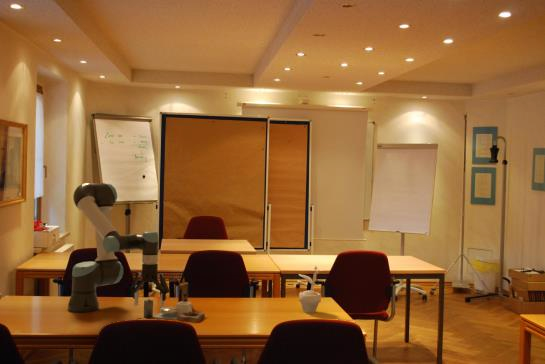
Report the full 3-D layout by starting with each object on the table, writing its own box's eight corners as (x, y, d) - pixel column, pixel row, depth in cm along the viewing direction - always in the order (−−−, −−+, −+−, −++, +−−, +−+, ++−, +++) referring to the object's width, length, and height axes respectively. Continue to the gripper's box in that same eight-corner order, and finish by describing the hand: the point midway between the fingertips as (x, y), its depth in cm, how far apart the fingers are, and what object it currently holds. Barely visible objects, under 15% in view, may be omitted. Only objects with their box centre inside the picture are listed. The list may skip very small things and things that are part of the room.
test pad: (157, 313, 273) (157, 310, 273) (164, 309, 282) (164, 306, 282) (174, 314, 271) (174, 311, 271) (181, 310, 280) (181, 307, 280)
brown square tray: (178, 320, 269) (178, 316, 269) (185, 315, 279) (185, 311, 279) (197, 322, 267) (197, 318, 267) (204, 317, 277) (204, 313, 277)
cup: (175, 316, 277) (176, 304, 277) (180, 313, 283) (180, 301, 283) (187, 317, 276) (187, 305, 276) (191, 314, 282) (191, 302, 281)
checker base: (153, 317, 272) (153, 316, 272) (162, 312, 284) (162, 311, 284) (176, 320, 269) (176, 319, 269) (185, 314, 281) (185, 313, 281)
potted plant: (323, 311, 298) (325, 264, 297) (315, 315, 287) (317, 267, 287) (301, 308, 303) (303, 262, 303) (293, 312, 292) (295, 265, 292)
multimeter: (193, 313, 284) (194, 274, 284) (175, 311, 286) (176, 272, 286) (202, 306, 299) (204, 269, 298) (185, 304, 301) (186, 268, 300)
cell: (142, 317, 272) (142, 299, 272) (146, 315, 276) (146, 297, 276) (150, 318, 271) (151, 300, 271) (154, 316, 275) (154, 298, 275)
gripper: (123, 262, 272) (122, 306, 272) (170, 265, 267) (169, 309, 267) (130, 260, 279) (129, 303, 280) (176, 263, 274) (175, 306, 274)
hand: (149, 306), depth 273 cm, fingers open, 13 cm apart
